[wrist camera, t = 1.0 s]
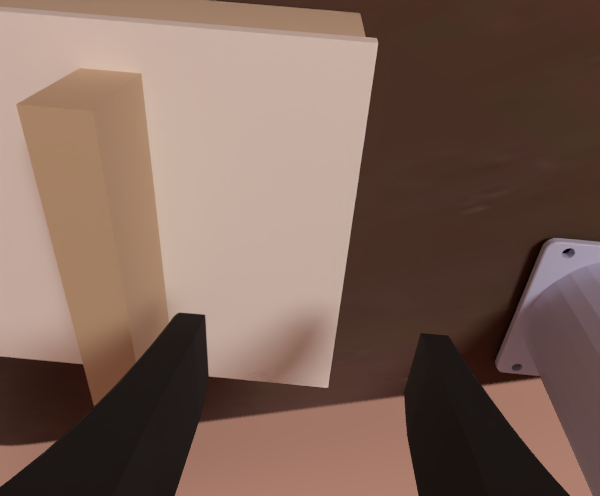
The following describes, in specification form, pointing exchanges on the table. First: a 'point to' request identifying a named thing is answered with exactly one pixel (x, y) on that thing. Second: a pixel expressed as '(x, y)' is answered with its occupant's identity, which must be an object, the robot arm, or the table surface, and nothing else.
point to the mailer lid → (176, 190)
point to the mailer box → (210, 13)
